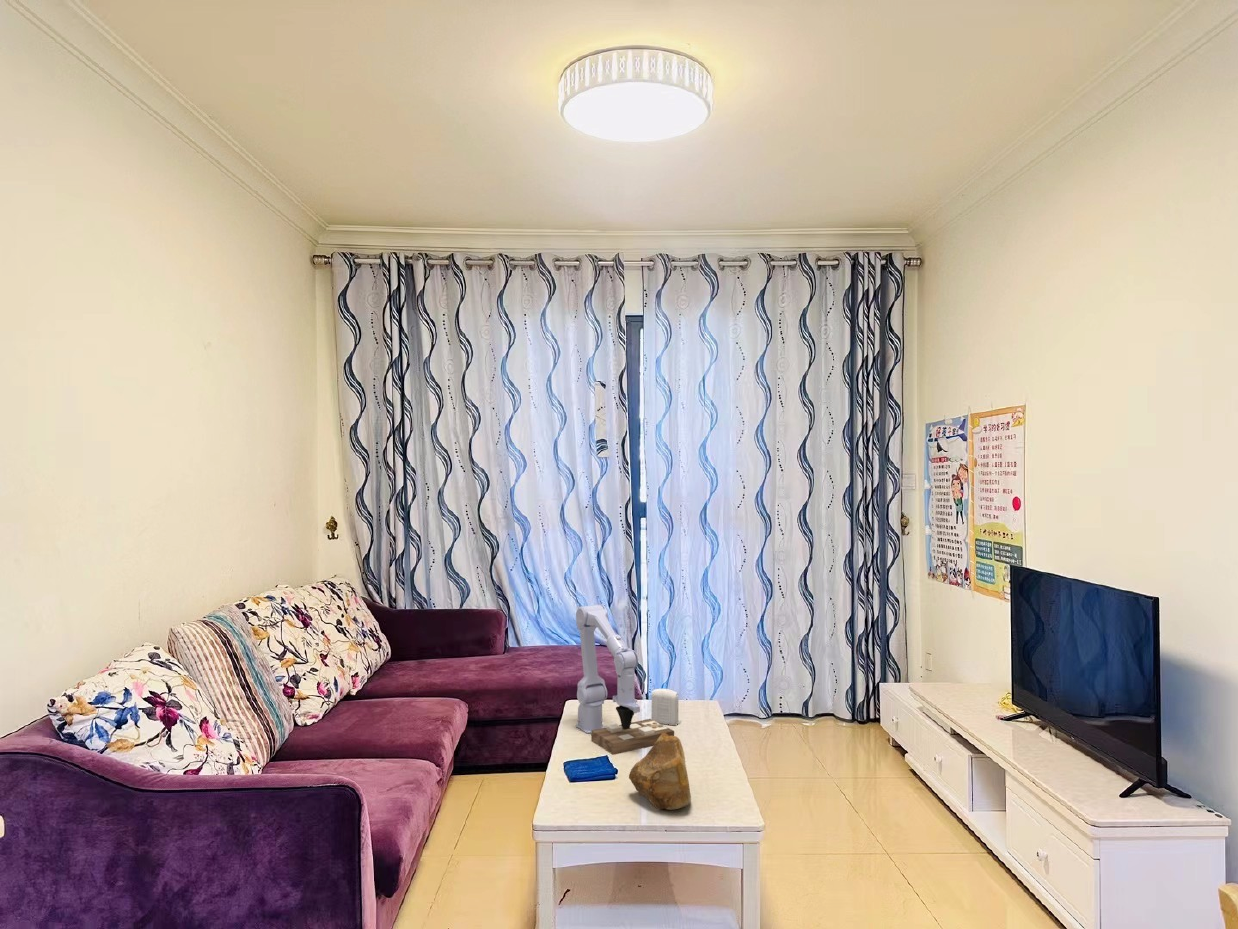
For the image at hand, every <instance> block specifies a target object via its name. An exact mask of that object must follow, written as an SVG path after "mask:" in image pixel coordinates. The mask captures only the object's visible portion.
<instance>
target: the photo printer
mask: <svg viewBox="0 0 1238 929" xmlns="http://www.w3.org/2000/svg"><path fill="white" fill-rule="evenodd" d="M651 719H652V720H654V721H656V722H658V723H660V724H662V725H668V724H669V725H670V726H677V725H676V724H678V725H679V693H678V692H677V691H674V690H672V689H669V688H656V689H653V690H652V692H651ZM669 725H668V726H669Z"/></svg>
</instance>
